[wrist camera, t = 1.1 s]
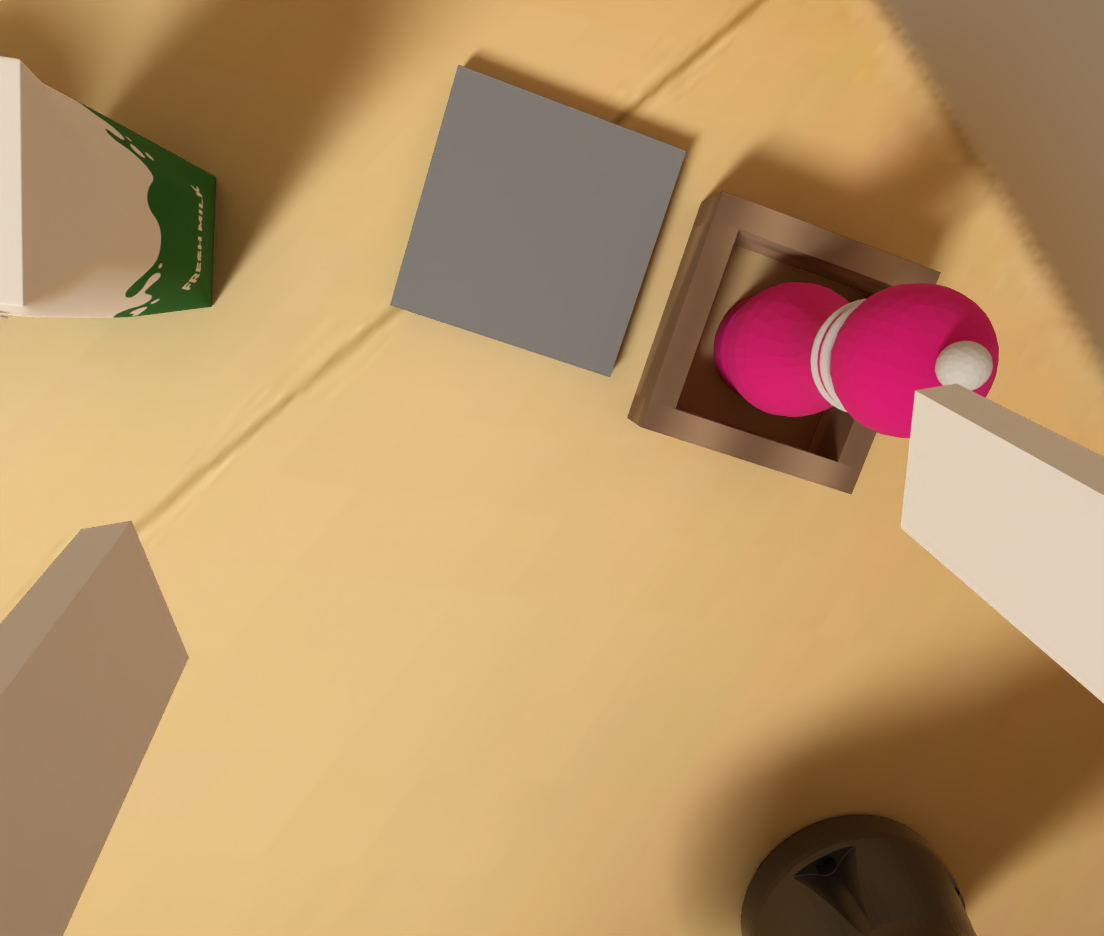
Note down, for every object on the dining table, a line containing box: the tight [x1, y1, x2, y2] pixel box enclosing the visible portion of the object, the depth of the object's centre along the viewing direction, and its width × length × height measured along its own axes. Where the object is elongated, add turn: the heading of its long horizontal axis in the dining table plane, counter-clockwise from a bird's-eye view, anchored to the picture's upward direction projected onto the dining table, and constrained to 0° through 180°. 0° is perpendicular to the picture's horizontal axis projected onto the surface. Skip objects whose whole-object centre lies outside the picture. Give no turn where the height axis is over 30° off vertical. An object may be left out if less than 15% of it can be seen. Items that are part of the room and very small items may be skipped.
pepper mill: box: [714, 282, 999, 438], centre depth 35 cm, size 7×7×20 cm
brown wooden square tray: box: [627, 191, 941, 494], centre depth 43 cm, size 13×13×4 cm
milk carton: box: [0, 56, 216, 318], centre depth 31 cm, size 9×9×20 cm
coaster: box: [390, 65, 686, 377], centre depth 42 cm, size 13×13×1 cm
